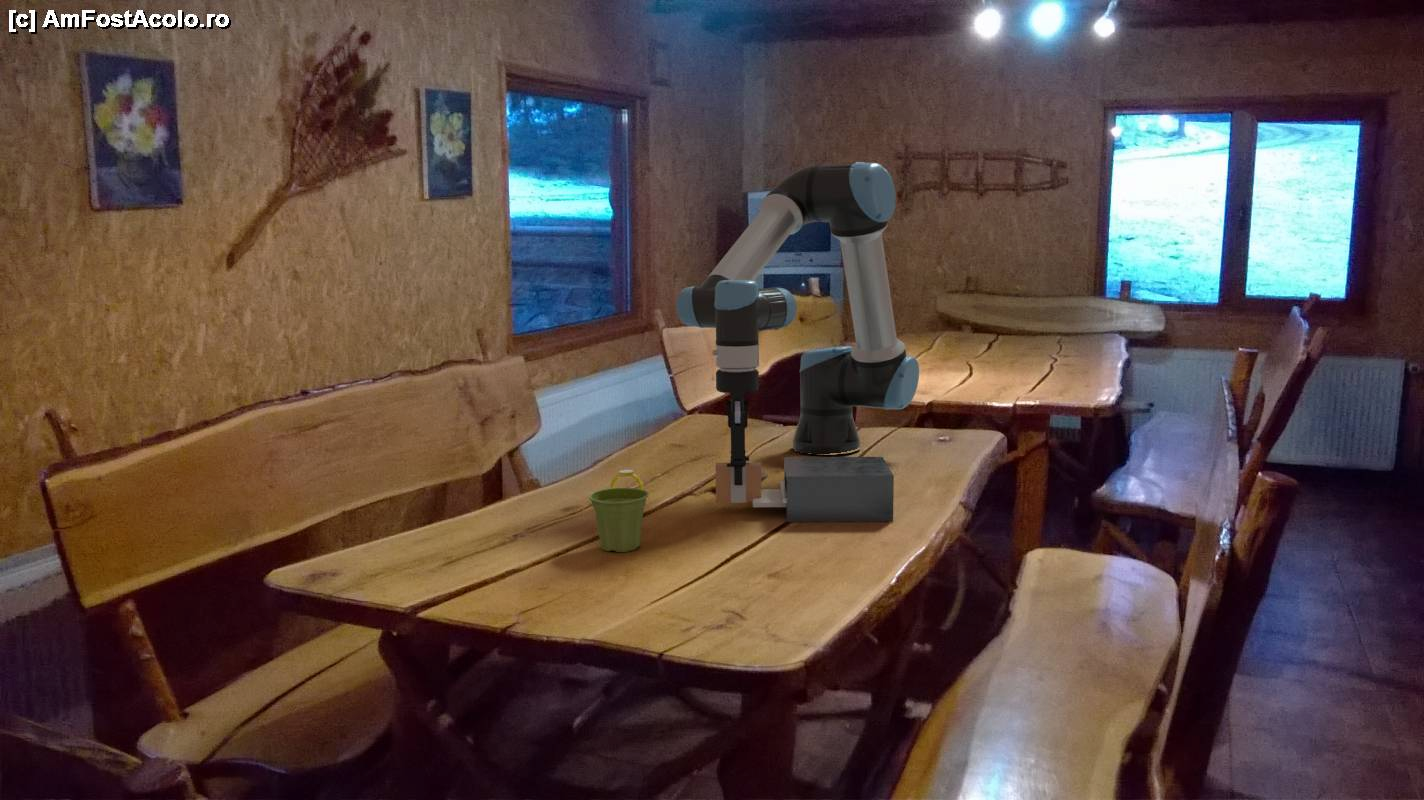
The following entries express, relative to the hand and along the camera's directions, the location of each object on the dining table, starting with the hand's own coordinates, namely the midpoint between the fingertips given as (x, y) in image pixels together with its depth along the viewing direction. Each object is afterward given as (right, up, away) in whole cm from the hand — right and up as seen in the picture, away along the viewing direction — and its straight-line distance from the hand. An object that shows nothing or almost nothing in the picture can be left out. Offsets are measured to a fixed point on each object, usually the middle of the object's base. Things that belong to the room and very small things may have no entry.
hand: (738, 499), depth 200 cm
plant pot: (-19, -6, -22) cm, 30 cm away
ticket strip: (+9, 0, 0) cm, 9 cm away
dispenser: (+17, -2, 0) cm, 18 cm away
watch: (-20, -1, +8) cm, 22 cm away
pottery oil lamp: (+2, +1, +19) cm, 19 cm away
